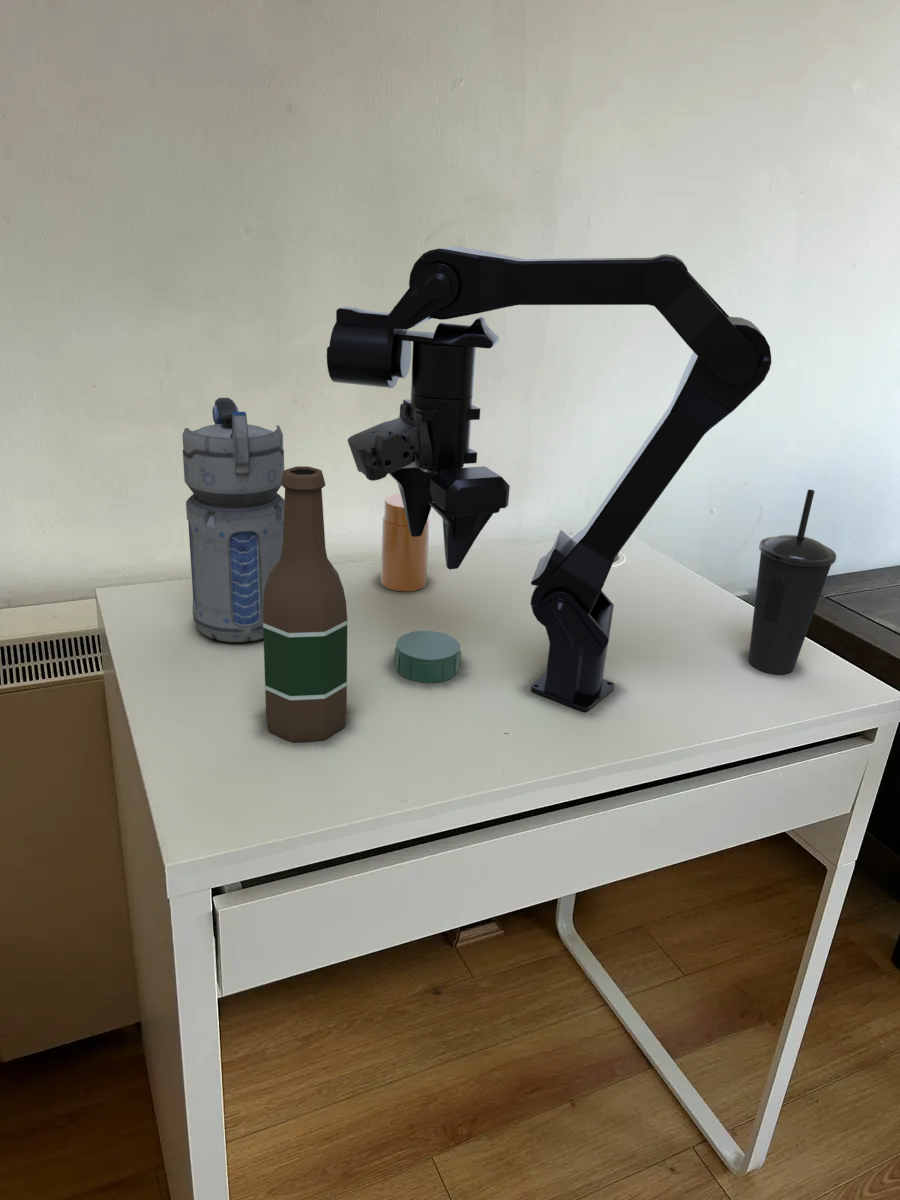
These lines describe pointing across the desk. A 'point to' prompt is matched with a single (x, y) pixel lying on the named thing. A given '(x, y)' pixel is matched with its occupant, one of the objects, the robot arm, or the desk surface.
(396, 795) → the desk surface
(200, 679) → the desk surface
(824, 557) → the drinking cup
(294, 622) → the beer bottle
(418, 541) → the jar
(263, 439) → the beverage bottle
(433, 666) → the lid
